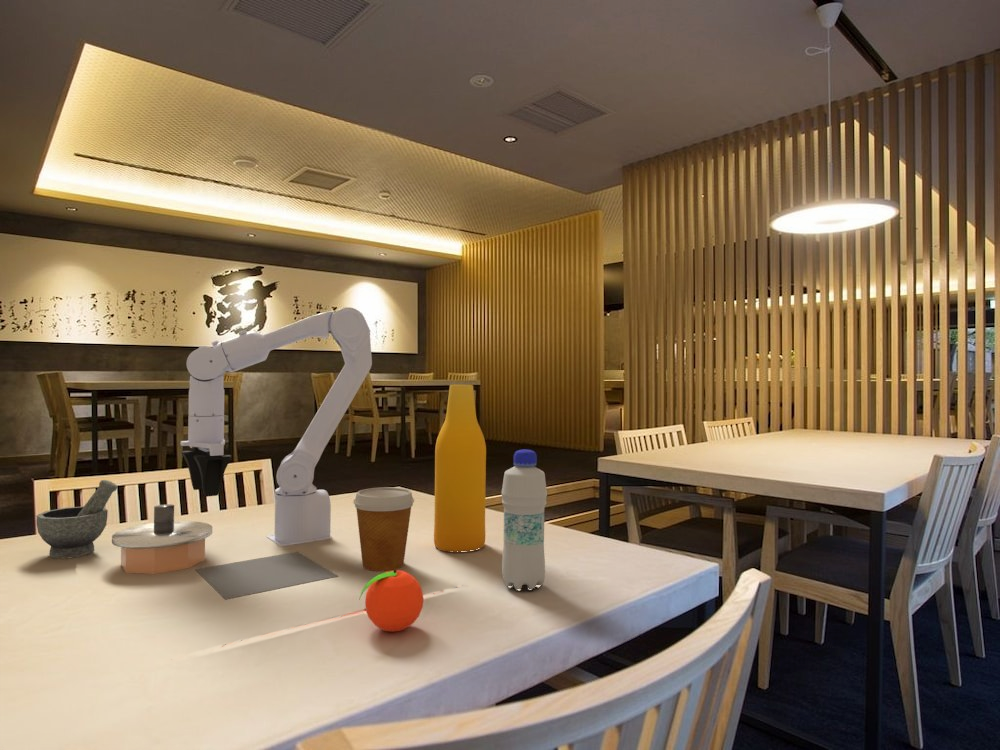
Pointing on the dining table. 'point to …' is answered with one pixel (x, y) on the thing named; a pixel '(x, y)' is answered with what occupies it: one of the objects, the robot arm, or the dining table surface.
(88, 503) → the mortar and pestle
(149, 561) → the terracotta bowl
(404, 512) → the disposable coffee cup
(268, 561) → the rubber mat
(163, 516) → the steel lid
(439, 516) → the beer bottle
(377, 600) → the clementine
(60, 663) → the dining table surface
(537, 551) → the bottle
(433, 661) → the dining table surface
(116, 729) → the dining table surface
